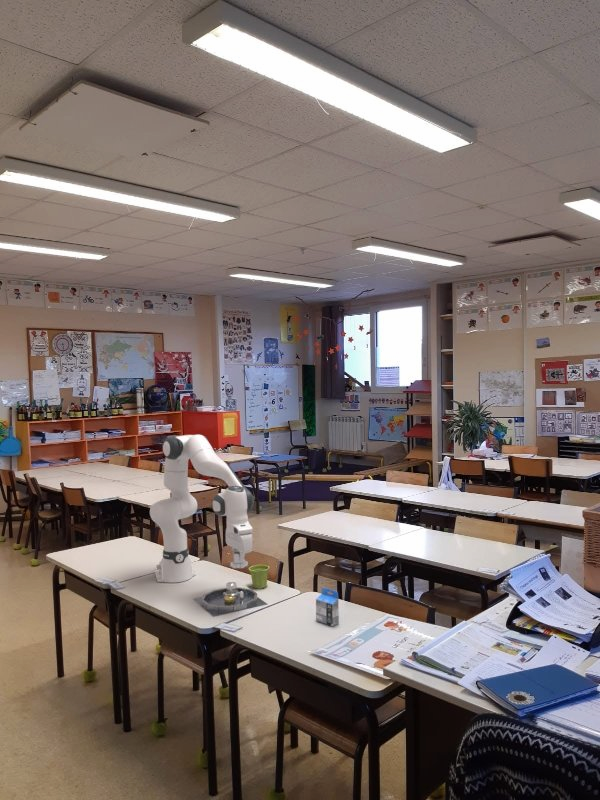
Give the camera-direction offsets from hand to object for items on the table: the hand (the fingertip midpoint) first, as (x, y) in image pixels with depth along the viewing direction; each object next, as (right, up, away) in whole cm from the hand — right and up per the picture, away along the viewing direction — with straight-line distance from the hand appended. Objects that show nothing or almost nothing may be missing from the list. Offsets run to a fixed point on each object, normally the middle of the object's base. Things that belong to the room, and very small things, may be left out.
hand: (239, 559), depth 247 cm
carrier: (-4, -20, +4) cm, 21 cm away
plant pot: (+7, -19, +25) cm, 32 cm away
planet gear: (0, -3, 0) cm, 3 cm away
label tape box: (+36, -19, -18) cm, 44 cm away
